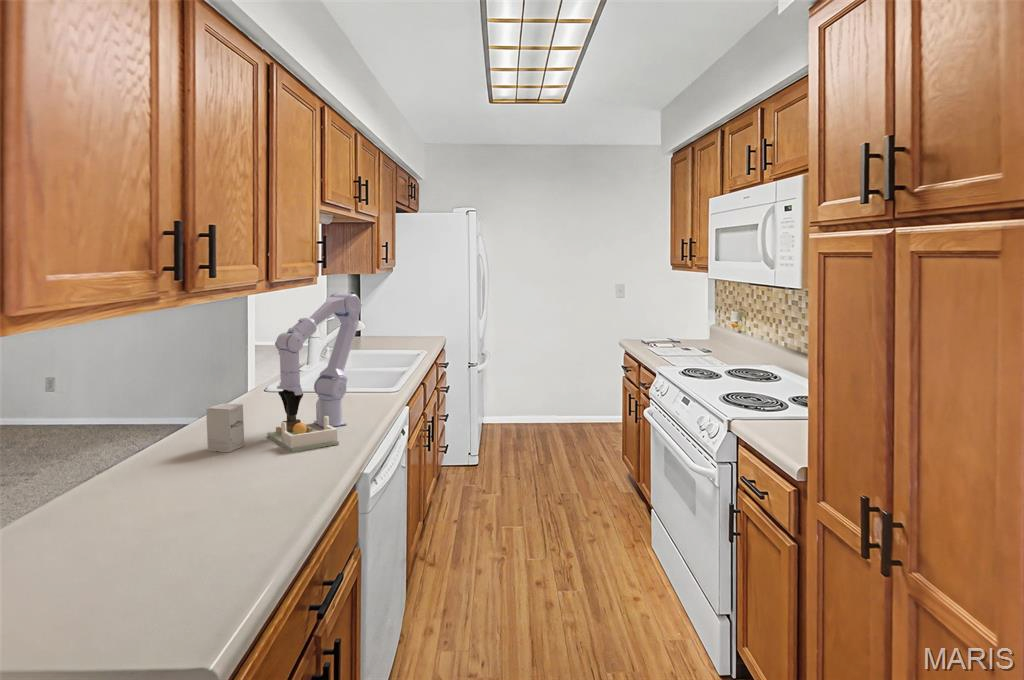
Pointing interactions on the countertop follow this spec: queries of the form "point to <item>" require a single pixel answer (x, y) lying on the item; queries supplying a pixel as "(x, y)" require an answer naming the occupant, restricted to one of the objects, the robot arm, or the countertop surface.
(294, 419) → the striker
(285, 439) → the pitch
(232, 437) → the supplement box
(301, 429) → the ball
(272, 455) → the countertop surface
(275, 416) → the countertop surface
